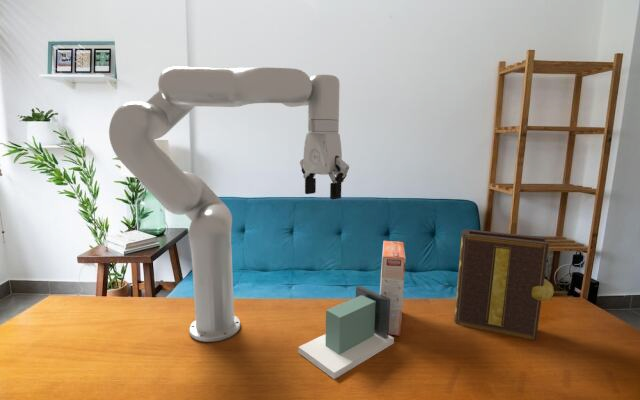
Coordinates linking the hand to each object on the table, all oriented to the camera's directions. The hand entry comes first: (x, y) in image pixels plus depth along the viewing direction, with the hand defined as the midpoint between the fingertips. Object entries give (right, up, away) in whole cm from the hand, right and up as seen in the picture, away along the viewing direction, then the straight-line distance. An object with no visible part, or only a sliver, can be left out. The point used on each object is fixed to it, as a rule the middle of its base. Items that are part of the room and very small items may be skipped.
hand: (322, 196), depth 92 cm
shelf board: (+6, -36, -7) cm, 37 cm away
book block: (+7, -35, -6) cm, 36 cm away
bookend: (+12, -34, -1) cm, 36 cm away
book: (+47, -35, +3) cm, 59 cm away
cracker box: (+18, -34, +6) cm, 39 cm away
